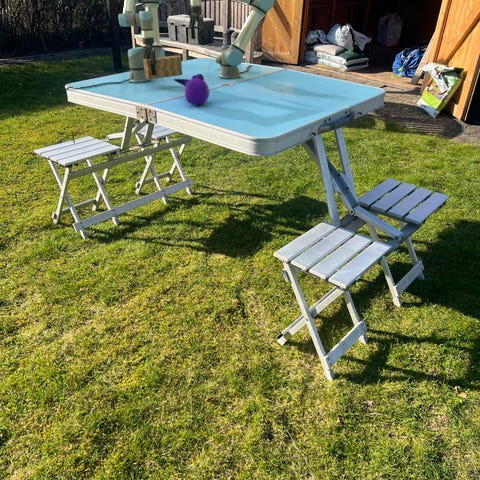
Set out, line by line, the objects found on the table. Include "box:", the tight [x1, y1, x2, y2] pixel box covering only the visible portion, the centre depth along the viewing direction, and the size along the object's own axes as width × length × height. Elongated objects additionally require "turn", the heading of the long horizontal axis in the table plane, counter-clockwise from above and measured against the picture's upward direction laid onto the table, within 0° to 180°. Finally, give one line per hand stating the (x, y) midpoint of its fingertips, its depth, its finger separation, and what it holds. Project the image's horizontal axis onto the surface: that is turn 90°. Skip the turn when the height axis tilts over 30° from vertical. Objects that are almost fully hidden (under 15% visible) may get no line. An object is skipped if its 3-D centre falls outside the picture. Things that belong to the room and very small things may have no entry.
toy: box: [173, 73, 210, 107], centre depth 272 cm, size 16×18×27 cm
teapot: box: [215, 55, 222, 68], centre depth 374 cm, size 21×12×15 cm, turn 120°
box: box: [143, 55, 183, 81], centre depth 308 cm, size 25×7×12 cm, turn 122°
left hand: (152, 74), depth 306 cm, fingers closed on box, 7 cm apart
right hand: (197, 39), depth 316 cm, fingers open, 13 cm apart
